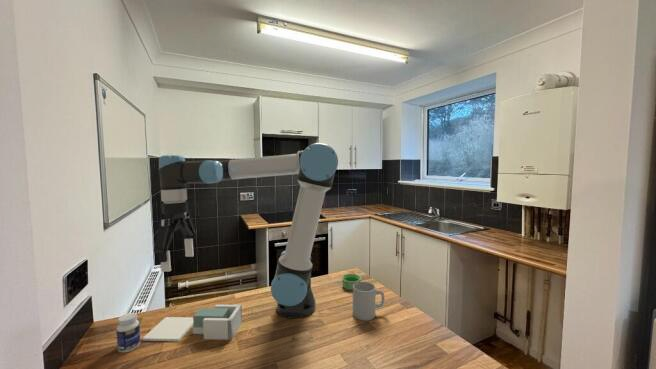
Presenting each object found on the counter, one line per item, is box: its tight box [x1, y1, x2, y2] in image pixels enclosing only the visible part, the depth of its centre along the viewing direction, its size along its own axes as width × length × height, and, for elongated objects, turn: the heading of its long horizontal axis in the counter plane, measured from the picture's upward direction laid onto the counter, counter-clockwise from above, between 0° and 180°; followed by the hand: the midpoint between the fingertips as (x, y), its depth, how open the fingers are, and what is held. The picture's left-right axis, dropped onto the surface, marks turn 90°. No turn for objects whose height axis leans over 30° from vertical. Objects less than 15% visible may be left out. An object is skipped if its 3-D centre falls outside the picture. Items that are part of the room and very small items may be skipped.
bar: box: [192, 307, 229, 328], centre depth 92 cm, size 10×5×4 cm, turn 89°
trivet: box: [142, 316, 194, 342], centre depth 92 cm, size 12×12×1 cm
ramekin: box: [341, 273, 362, 291], centre depth 125 cm, size 9×9×4 cm
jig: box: [192, 304, 243, 341], centre depth 92 cm, size 14×10×6 cm
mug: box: [352, 281, 385, 322], centre depth 101 cm, size 12×8×11 cm
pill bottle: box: [116, 312, 141, 354], centre depth 83 cm, size 6×6×10 cm
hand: (178, 263), depth 92 cm, fingers open, 13 cm apart
